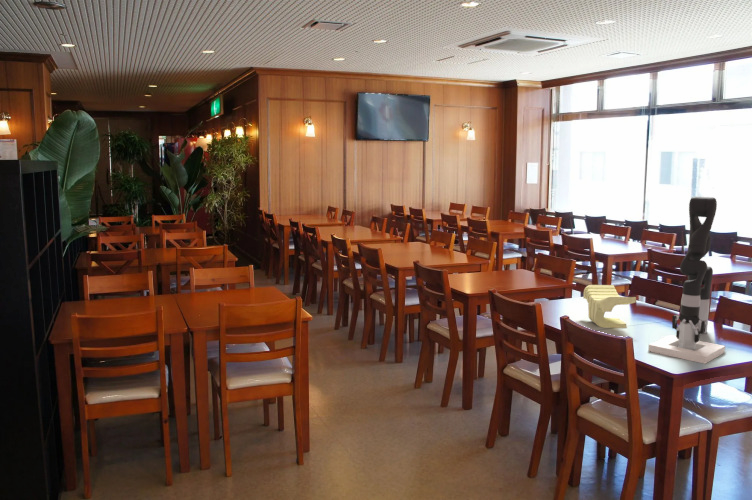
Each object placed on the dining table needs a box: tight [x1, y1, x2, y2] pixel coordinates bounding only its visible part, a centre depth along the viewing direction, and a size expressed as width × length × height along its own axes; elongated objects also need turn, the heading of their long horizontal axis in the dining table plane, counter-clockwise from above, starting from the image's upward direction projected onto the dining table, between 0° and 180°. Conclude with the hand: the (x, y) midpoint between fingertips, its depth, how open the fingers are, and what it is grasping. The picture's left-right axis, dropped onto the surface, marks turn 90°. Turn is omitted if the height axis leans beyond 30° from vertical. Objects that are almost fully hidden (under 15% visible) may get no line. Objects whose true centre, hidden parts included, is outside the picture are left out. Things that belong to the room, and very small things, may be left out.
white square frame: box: [647, 334, 726, 364], centre depth 288 cm, size 24×24×3 cm
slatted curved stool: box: [583, 284, 637, 329], centre depth 333 cm, size 30×16×18 cm, turn 0°
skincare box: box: [677, 321, 698, 351], centre depth 287 cm, size 6×4×12 cm
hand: (687, 340), depth 287 cm, fingers closed on skincare box, 7 cm apart
